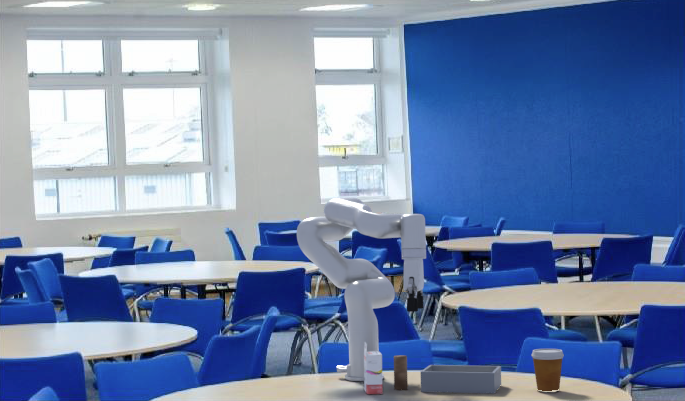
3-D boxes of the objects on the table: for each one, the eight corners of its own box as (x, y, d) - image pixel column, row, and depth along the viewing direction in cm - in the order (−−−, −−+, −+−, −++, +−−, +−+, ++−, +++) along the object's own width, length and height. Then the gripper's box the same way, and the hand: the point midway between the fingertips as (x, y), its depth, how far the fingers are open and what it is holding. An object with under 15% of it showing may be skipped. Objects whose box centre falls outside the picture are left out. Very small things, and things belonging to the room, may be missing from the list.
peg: (393, 390, 368) (392, 356, 368) (396, 387, 372) (395, 355, 371) (406, 390, 367) (405, 357, 367) (408, 388, 370) (408, 355, 370)
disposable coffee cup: (545, 395, 353) (544, 353, 353) (525, 390, 361) (524, 350, 361) (571, 391, 357) (570, 350, 357) (551, 387, 366) (550, 347, 366)
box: (420, 391, 363) (420, 371, 363) (430, 384, 377) (429, 364, 377) (494, 393, 357) (494, 372, 357) (501, 385, 371) (500, 366, 371)
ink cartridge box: (383, 394, 361) (382, 344, 361) (366, 394, 361) (365, 345, 361) (380, 389, 370) (379, 340, 369) (364, 390, 369) (362, 341, 369)
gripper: (406, 252, 383) (408, 307, 383) (396, 255, 367) (398, 312, 367) (430, 252, 382) (432, 307, 382) (421, 255, 365) (422, 312, 365)
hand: (415, 309), depth 374 cm, fingers open, 9 cm apart
